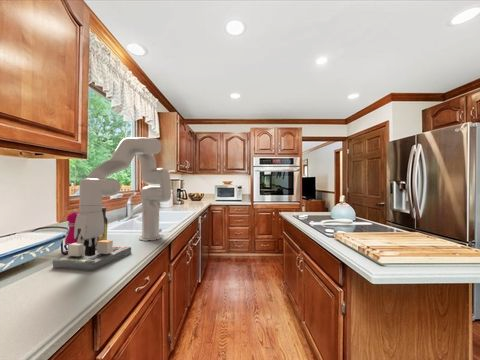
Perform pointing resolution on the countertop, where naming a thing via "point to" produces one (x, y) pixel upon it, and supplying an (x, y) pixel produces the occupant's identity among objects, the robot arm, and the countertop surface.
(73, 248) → the on switch
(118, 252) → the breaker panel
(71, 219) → the pepper mill
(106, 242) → the switch
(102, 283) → the countertop surface
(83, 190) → the robot arm
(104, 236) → the sauce bottle
